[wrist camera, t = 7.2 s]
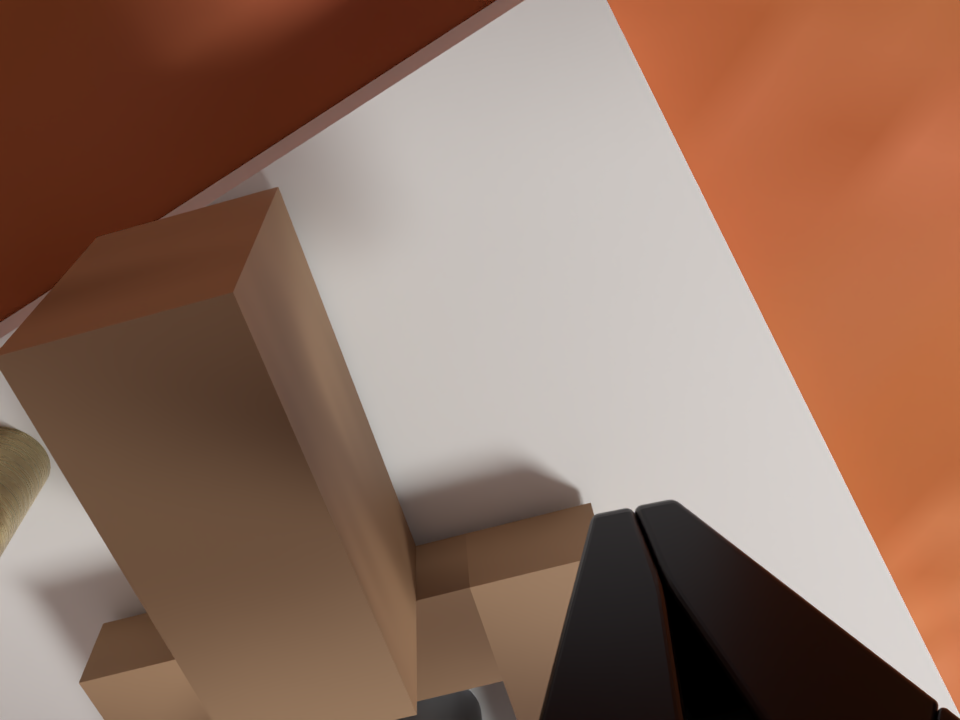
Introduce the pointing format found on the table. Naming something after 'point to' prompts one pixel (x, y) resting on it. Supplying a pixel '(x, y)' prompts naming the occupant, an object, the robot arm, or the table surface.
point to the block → (263, 494)
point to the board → (510, 342)
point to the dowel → (19, 479)
